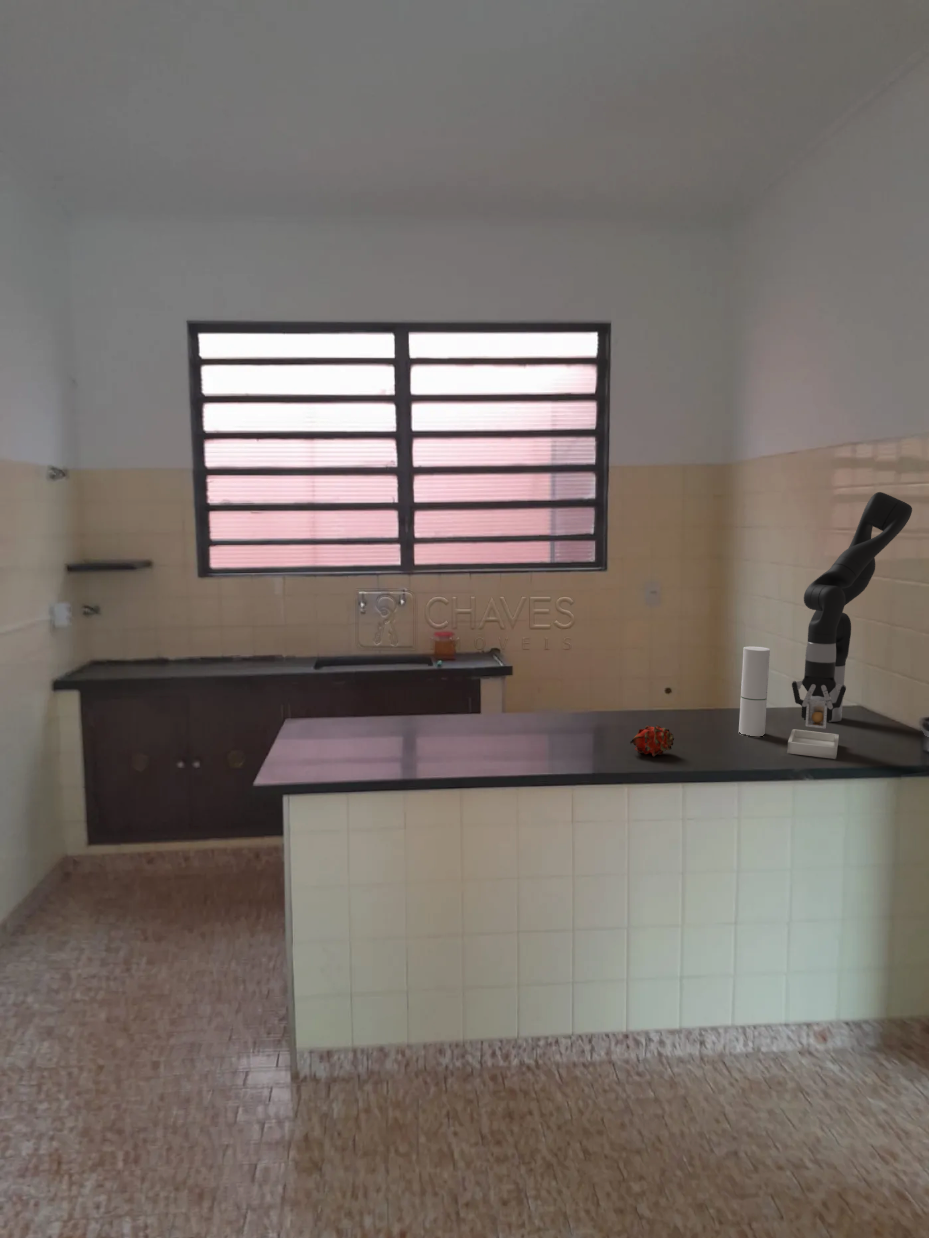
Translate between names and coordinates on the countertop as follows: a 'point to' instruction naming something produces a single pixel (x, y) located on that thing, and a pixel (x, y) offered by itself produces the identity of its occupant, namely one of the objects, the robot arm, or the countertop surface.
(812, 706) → the scoop
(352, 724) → the countertop surface
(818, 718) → the ball
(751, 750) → the countertop surface
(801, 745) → the tray
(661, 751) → the dragon fruit
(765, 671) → the cylindrical container
